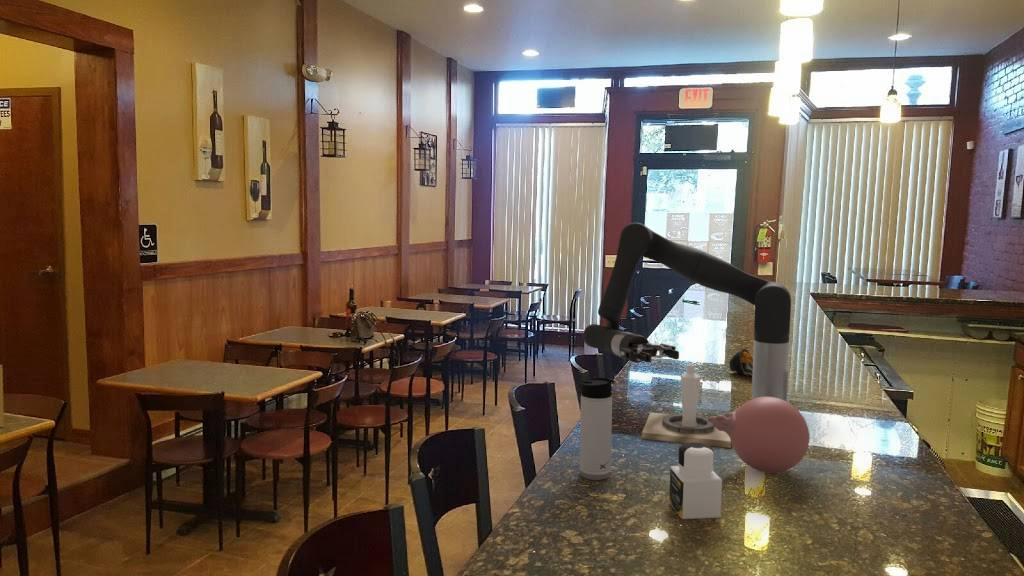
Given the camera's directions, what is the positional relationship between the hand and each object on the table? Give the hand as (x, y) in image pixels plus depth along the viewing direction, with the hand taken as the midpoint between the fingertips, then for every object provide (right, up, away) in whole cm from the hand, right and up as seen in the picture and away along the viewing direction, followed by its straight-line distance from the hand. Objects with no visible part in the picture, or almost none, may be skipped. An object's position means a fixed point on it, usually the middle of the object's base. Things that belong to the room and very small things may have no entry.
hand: (664, 357), depth 177 cm
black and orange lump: (+39, -11, +45) cm, 61 cm away
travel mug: (-22, -20, -38) cm, 48 cm away
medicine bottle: (-7, -22, -54) cm, 59 cm away
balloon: (+12, -20, -34) cm, 41 cm away
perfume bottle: (+4, -16, -10) cm, 19 cm away
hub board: (+3, -17, -10) cm, 20 cm away
